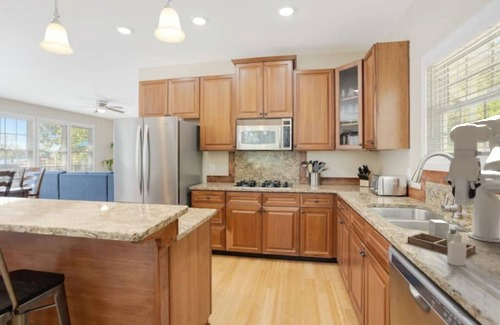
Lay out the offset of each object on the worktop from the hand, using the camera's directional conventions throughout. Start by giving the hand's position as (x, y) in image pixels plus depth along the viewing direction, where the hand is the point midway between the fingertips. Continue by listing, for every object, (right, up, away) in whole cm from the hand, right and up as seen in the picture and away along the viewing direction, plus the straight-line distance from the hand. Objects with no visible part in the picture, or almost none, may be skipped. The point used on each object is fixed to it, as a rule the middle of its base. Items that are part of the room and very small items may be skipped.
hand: (463, 196), depth 110 cm
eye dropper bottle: (-15, -22, -16) cm, 31 cm away
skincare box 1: (+1, -21, +16) cm, 27 cm away
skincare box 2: (0, -3, 0) cm, 3 cm away
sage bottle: (-7, -22, -3) cm, 23 cm away
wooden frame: (-9, -22, +1) cm, 23 cm away
